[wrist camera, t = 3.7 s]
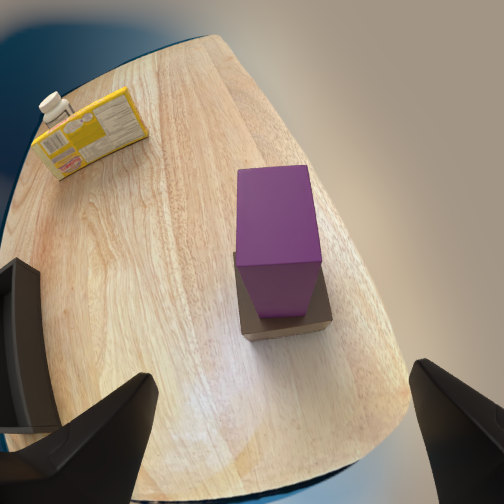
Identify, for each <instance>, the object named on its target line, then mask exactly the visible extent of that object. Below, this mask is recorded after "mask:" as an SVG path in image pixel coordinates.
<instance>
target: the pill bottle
mask: <svg viewBox="0 0 504 504" xmlns="http://www.w3.org/2000/svg"><path fill="white" fill-rule="evenodd" d="M39 108H40V110H41V111H42V112H43V113H45V115H44V118H43V120H44V122H45V124H46V125H47V126H48V128H49V129H51V128H52V127H54V126H55V125H57V124H58V123H60V122H62V121H63V120H65V119H66V118H68V117H70V116H71V115H73V114H74V113H75V112H74V110H73V108H72V107H71V105H70V104H69V102H68V101H67V100H66V99H63V100H61V97H60V95H59V94H58V92H54V93H52V94H51V95H49V96H48V97H47V98H46V99H45V100H44V101H43V102H42V103H41V104H40V106H39Z"/></svg>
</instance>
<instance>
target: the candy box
mask: <svg viewBox="0 0 504 504" xmlns="http://www.w3.org/2000/svg"><path fill="white" fill-rule="evenodd" d="M146 137H148V130H147V128H146V126H145V124H144V122H143V120H142V118H141V116H140V114H139V112H138V110H137V108H136V106H135V104H134V102H133V100H132V98H131V95H130V93H129V91H128V89H127V87H124V88H121V89H119V90H117V91H115V92H113V93H111V94H109V95H107V96H105V97H103V98H101V99H99V100H97V101H96V102H94V103H92V104H90V105H88V106H87V107H85V108H83V109H81V110H80V111H78V112H76V113H74V114H73V115H71V116H70V117H68V118H66V119H65V120H63V121H62V122H60V123H58V124H57V125H55V126H54V127H52V128H51V129H49V130H48V131H46V132H45V133H44V134H42V135H41V136H39V137H38V138H36V139H35V140H34V141H33V143H32V145H31V148H32V149H33V150H34V152H35V153H36V154H37V155H38V157H39V158H40V159H41V160H42V161H43V163H44V164H45V165H46V166H47V167H48V169H49V170H50V171H51V172H52V173H53V175H54V176H55V177H56V178H57V179H58V180H59V181H60V180H61V179H63V178H65V177H66V176H68V175H70V174H72V173H73V172H75V171H77V170H79V169H81V168H83V167H84V166H86V165H88V164H90V163H92V162H94V161H96V160H98V159H100V158H102V157H104V156H106V155H108V154H110V153H112V152H114V151H116V150H118V149H120V148H123V147H125V146H127V145H129V144H131V143H134V142H136V141H138V140H141V139H143V138H146Z"/></svg>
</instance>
